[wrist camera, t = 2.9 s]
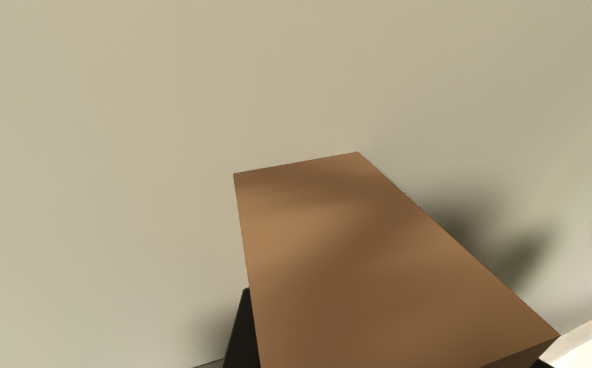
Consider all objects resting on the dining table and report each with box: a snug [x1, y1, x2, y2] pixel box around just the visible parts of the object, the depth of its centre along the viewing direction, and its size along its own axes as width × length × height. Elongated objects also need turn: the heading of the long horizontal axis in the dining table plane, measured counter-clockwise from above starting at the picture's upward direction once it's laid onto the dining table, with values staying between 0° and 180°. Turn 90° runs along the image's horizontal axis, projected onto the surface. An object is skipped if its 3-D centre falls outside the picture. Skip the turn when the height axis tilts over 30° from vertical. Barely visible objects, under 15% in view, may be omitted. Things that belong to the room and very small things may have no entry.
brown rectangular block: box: [233, 152, 560, 368], centre depth 8 cm, size 4×8×6 cm, turn 2°
